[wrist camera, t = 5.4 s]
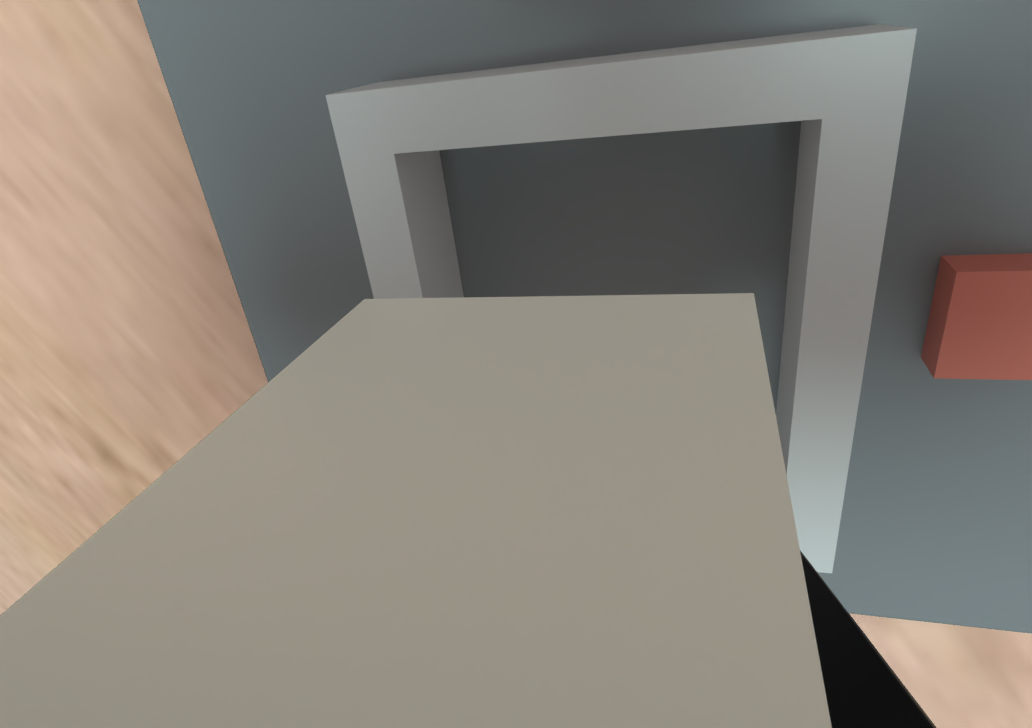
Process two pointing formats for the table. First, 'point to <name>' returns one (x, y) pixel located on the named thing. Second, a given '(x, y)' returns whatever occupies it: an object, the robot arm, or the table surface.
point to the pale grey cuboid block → (453, 538)
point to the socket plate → (675, 220)
